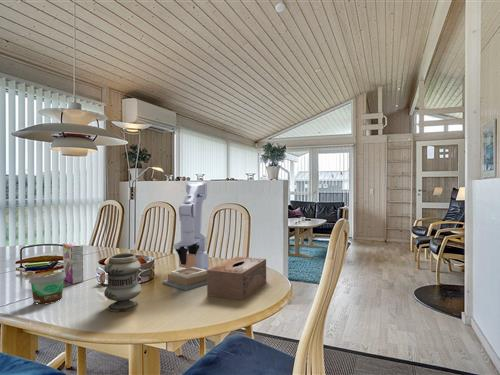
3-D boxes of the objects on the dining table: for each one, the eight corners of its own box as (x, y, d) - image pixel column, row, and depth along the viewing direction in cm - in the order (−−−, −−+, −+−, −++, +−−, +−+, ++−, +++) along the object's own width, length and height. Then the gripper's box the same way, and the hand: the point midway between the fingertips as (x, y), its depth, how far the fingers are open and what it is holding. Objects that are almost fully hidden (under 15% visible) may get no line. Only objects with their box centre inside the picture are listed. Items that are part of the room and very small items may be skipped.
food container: (37, 308, 115) (37, 279, 115) (29, 305, 118) (28, 277, 118) (72, 297, 125) (72, 271, 125) (63, 295, 129) (63, 269, 129)
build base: (191, 275, 155) (191, 264, 155) (215, 281, 144) (215, 270, 144) (162, 283, 143) (162, 271, 143) (186, 290, 132) (186, 278, 132)
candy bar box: (62, 279, 150) (62, 243, 150) (74, 277, 154) (74, 242, 154) (71, 284, 143) (71, 246, 142) (83, 282, 146) (83, 244, 146)
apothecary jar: (104, 315, 107) (103, 260, 107) (104, 303, 118) (103, 253, 118) (143, 309, 112) (142, 256, 112) (140, 298, 123) (139, 250, 123)
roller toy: (103, 281, 146) (102, 268, 146) (117, 281, 146) (117, 268, 146) (98, 284, 142) (98, 271, 142) (113, 284, 142) (113, 271, 142)
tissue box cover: (241, 301, 120) (241, 273, 120) (207, 296, 126) (207, 270, 126) (266, 281, 144) (266, 258, 144) (236, 278, 150) (236, 256, 150)
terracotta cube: (186, 264, 147) (186, 253, 147) (195, 265, 145) (195, 254, 145) (179, 267, 143) (178, 255, 143) (187, 268, 140) (187, 256, 140)
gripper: (191, 229, 152) (192, 258, 152) (168, 233, 140) (168, 265, 140) (203, 230, 148) (204, 260, 148) (181, 234, 136) (181, 267, 136)
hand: (187, 262), depth 144 cm, fingers closed on terracotta cube, 5 cm apart
